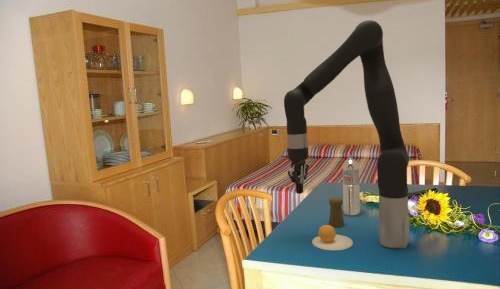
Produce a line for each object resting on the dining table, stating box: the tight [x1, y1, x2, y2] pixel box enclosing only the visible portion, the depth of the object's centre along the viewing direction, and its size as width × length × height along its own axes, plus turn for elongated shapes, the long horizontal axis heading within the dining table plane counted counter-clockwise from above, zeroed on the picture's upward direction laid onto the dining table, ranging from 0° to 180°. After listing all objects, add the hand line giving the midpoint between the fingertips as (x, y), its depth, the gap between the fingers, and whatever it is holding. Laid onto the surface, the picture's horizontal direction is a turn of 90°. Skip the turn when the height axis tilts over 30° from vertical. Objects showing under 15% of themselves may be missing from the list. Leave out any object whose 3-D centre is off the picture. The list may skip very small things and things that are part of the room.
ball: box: [318, 224, 337, 242], centre depth 142 cm, size 6×6×6 cm
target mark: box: [311, 234, 354, 252], centre depth 142 cm, size 14×14×1 cm
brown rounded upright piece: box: [328, 196, 345, 228], centre depth 158 cm, size 6×6×11 cm
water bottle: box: [341, 154, 361, 217], centre depth 168 cm, size 7×7×25 cm
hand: (299, 193), depth 146 cm, fingers closed
